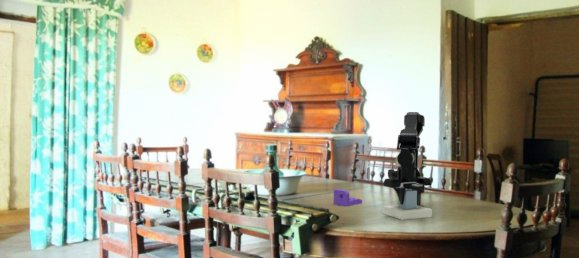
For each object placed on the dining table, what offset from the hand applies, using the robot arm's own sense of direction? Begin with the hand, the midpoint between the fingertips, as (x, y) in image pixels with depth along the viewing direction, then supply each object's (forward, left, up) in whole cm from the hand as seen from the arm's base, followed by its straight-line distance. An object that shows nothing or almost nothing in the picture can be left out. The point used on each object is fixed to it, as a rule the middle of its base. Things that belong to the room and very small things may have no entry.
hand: (407, 204), depth 181 cm
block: (0, 0, -2) cm, 2 cm away
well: (0, 0, -4) cm, 4 cm away
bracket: (+9, -30, -5) cm, 32 cm away
